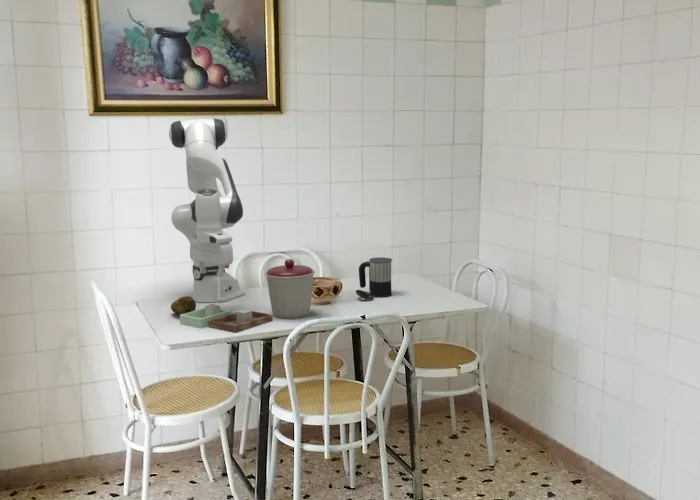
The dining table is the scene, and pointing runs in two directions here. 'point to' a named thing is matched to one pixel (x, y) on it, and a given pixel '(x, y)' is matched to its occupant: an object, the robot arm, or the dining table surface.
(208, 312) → the stone
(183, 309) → the potato
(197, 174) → the robot arm
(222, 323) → the walnut tray
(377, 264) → the milk frother
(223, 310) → the green bin
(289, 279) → the canister
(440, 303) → the dining table surface
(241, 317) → the stone
